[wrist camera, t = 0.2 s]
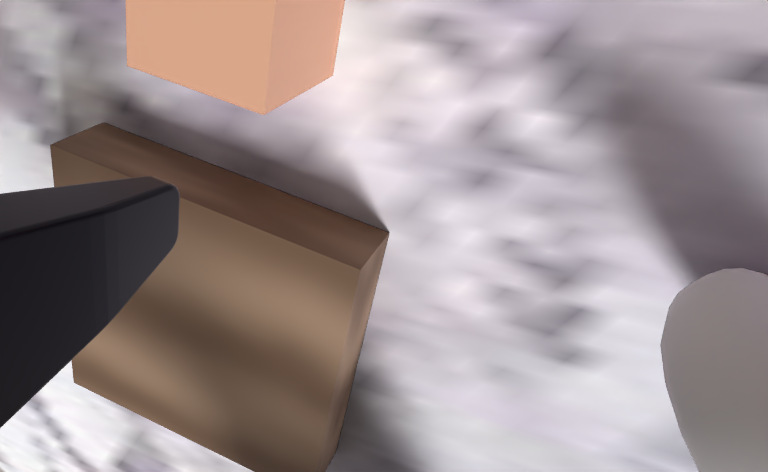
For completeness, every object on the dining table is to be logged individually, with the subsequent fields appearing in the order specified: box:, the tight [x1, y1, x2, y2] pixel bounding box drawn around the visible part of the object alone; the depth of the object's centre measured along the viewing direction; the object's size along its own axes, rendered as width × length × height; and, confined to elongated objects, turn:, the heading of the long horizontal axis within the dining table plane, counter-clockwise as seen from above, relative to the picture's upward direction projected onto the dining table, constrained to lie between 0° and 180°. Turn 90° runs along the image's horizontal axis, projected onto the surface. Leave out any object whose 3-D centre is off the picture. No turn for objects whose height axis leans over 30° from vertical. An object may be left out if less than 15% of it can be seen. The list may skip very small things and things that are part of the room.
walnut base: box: [50, 123, 389, 472], centre depth 29 cm, size 14×14×3 cm
